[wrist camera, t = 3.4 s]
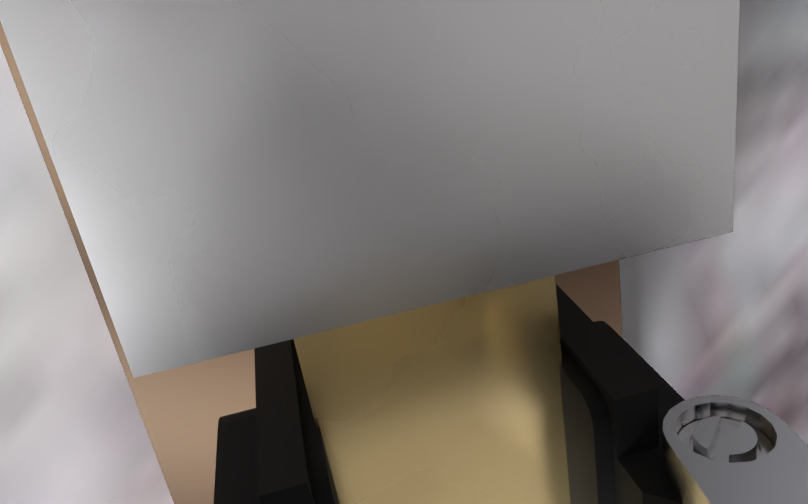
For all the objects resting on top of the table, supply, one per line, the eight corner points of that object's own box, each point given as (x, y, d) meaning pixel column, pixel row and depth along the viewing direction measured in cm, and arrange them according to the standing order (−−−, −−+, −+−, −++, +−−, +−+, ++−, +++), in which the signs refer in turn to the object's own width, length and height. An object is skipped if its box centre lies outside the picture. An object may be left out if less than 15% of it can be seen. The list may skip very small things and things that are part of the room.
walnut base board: (-427, -1219, 7) (-580, -1491, 6) (502, -1189, 9) (552, -1410, 7) (298, 783, 21) (301, 840, 20) (613, 681, 22) (637, 728, 21)
